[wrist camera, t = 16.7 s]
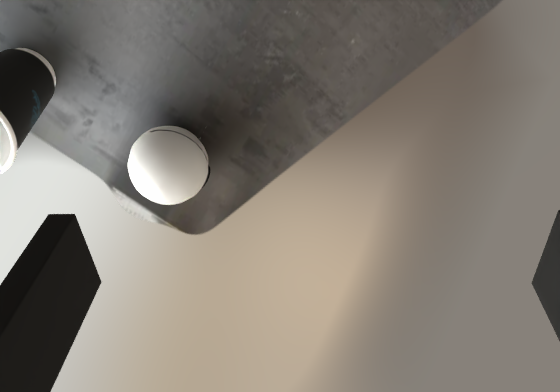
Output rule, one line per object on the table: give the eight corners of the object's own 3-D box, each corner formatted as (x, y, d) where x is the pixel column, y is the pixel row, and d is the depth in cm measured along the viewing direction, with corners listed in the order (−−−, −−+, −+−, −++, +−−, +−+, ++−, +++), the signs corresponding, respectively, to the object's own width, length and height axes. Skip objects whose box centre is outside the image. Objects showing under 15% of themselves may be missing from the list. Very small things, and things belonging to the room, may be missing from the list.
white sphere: (178, 187, 51) (161, 233, 45) (125, 137, 48) (99, 180, 42) (251, 138, 47) (242, 182, 41) (198, 80, 44) (181, 119, 38)
